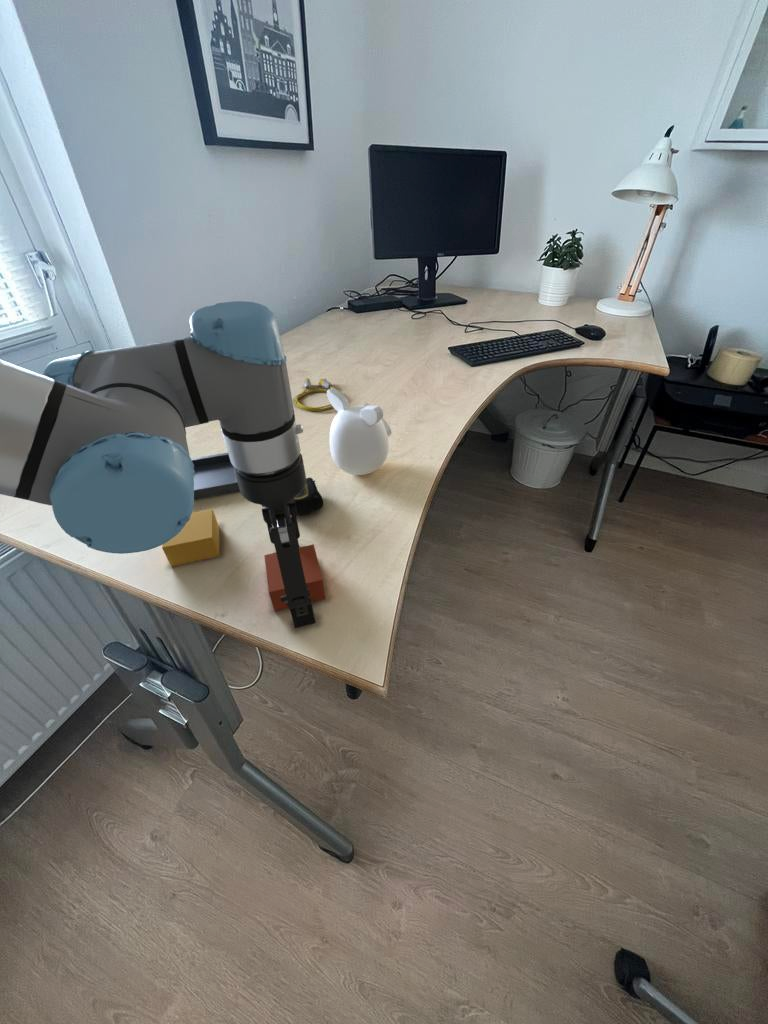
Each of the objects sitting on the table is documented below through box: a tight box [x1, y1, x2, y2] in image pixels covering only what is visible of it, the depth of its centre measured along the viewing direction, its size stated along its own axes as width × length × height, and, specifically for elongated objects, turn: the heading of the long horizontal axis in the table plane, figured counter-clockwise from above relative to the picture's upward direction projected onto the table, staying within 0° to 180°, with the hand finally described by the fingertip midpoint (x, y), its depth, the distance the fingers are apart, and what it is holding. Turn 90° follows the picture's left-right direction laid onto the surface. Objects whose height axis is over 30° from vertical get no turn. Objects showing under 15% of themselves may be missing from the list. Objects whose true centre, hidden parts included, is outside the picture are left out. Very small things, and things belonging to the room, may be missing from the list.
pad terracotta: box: [263, 544, 327, 612], centre depth 60 cm, size 7×7×4 cm
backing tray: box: [191, 452, 240, 501], centre depth 80 cm, size 18×11×2 cm, turn 107°
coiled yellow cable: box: [294, 377, 334, 412], centre depth 107 cm, size 12×16×2 cm
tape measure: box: [293, 477, 324, 516], centre depth 74 cm, size 7×7×4 cm
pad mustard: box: [161, 508, 220, 567], centre depth 67 cm, size 7×7×4 cm
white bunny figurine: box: [326, 387, 392, 476], centre depth 79 cm, size 12×12×15 cm
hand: (297, 585), depth 61 cm, fingers open, 13 cm apart
